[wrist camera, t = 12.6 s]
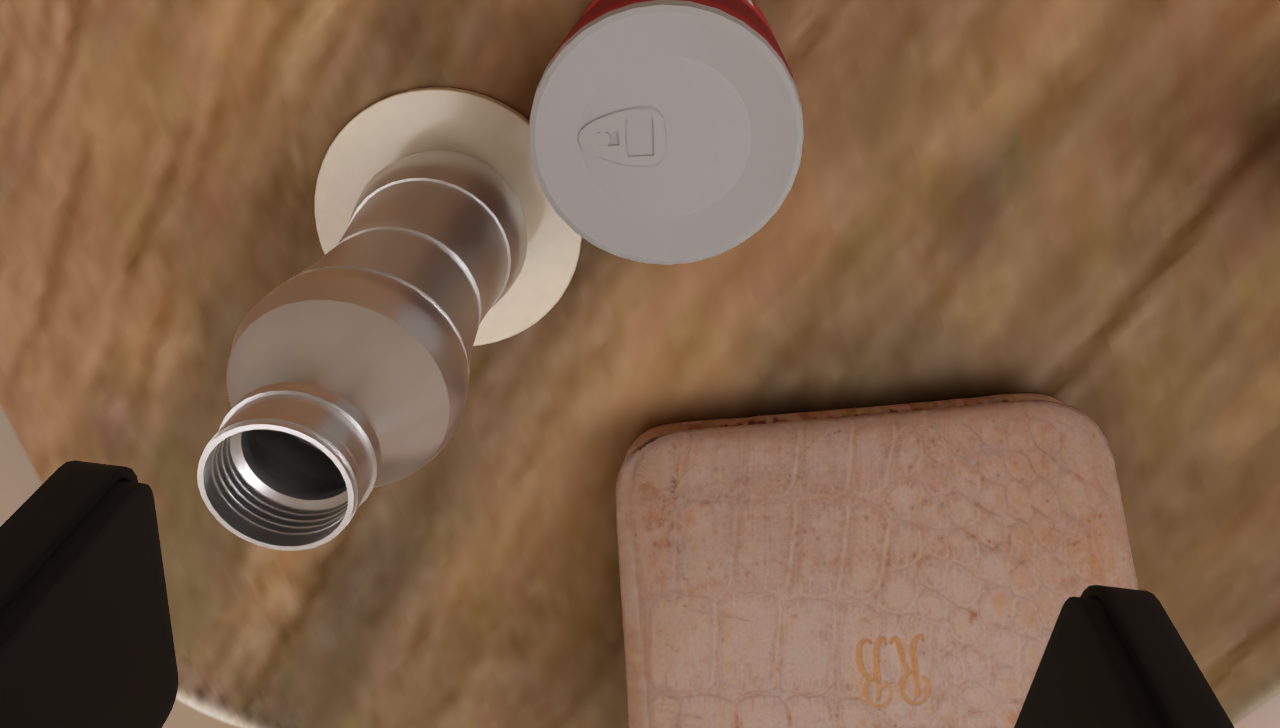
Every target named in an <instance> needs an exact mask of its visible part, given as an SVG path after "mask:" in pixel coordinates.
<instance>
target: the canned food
mask: <svg viewBox="0 0 1280 728" xmlns="http://www.w3.org/2000/svg"><path fill="white" fill-rule="evenodd" d="M803 137H804V128H803V113H802V106H801V102H800V99H799V95H798V92H797V88H796V85H795V82H794V79H793V75H792V73H791V71H790V69H789V67H788V65H787V62H786V60H785V58H784V56H783V54H782V52H781V50H780V47H779V45H778V43H777V41H776V39H775V37H774V35H773V32H772V30H771V29H770V27H769V25H768V23H767V21H766V19H765V17H764V15H763V13H762V12H761V11H760V9H759V8H758V7H757V6H756V5H755V3H754V2H753V1H752V0H594V1H593V2H592V3H591V4H590V6H589V7H588V9H587V10H586V11H585V13H584V14H583V15H582V17H581V18H580V19H579V21H578V22H577V24H576V25H575V26H574V28H573V29H572V30H571V32H570V33H569V35H568V36H567V37H566V39H565V40H564V41H563V43H562V44H561V46H560V47H559V48H558V50H557V51H556V53H555V54H554V55H553V57H552V58H551V60H550V62H549V64H548V65H547V67H546V69H545V71H544V73H543V76H542V78H541V80H540V82H539V84H538V87H537V89H536V92H535V96H534V101H533V105H532V109H531V114H530V128H529V147H530V152H531V158H532V163H533V168H534V172H535V174H536V176H537V179H538V181H539V184H540V186H541V189H542V191H543V193H544V195H545V196H546V198H547V199H548V201H549V203H550V204H551V206H552V207H553V209H554V210H555V212H556V213H557V214H558V215H559V216H560V217H561V218H562V220H563V221H564V222H565V223H566V224H567V225H568V226H569V227H570V228H571V229H572V230H573V231H574V232H575V233H577V234H578V235H580V236H581V237H583V238H584V239H586V240H587V241H588V242H590V243H591V244H593V245H594V246H596V247H598V248H600V249H602V250H605V251H607V252H609V253H611V254H613V255H616V256H618V257H621V258H625V259H629V260H633V261H637V262H641V263H650V264H664V265H671V264H681V263H690V262H696V261H699V260H703V259H706V258H710V257H713V256H717V255H719V254H721V253H723V252H725V251H727V250H729V249H731V248H733V247H735V246H737V245H739V244H741V243H743V242H744V241H745V240H747V239H748V238H749V237H751V236H752V235H753V234H755V233H756V232H757V231H759V230H760V229H761V228H762V227H763V226H764V225H765V224H766V223H767V222H768V220H769V219H770V218H771V217H772V216H773V215H774V214H775V213H776V212H777V211H778V209H779V208H780V206H781V204H782V203H783V201H784V199H785V198H786V196H787V194H788V193H789V191H790V189H791V188H792V185H793V182H794V179H795V177H796V174H797V171H798V168H799V165H800V160H801V153H802V146H803Z"/></svg>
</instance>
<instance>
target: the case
mask: <svg viewBox="0 0 1280 728" xmlns="http://www.w3.org/2000/svg"><path fill="white" fill-rule="evenodd" d="M615 496H616V521H617V540H618V554H619V568H620V587H621V601H622V616H623V633H624V647H625V662H626V684H627V703H628V718H629V728H1014V727H1015V724H1016V722H1017V719H1018V716H1019V714H1020V711H1021V709H1022V706H1023V704H1024V701H1025V699H1026V696H1027V694H1028V691H1029V689H1030V686H1031V684H1032V681H1033V679H1034V676H1035V674H1036V671H1037V669H1038V666H1039V664H1040V661H1041V659H1042V656H1043V654H1044V651H1045V649H1046V646H1047V644H1048V641H1049V639H1050V636H1051V634H1052V631H1053V629H1054V626H1055V624H1056V621H1057V619H1058V616H1059V614H1060V611H1061V609H1062V606H1063V605H1064V603H1065V601H1066V600H1067V599H1068V598H1069V597H1080V596H1081V594H1082V593H1083V591H1084V590H1085V589H1086V588H1087V587H1088V586H1091V585H1102V586H1110V587H1118V588H1127V589H1135V590H1138V583H1137V578H1136V573H1135V568H1134V564H1133V559H1132V553H1131V547H1130V542H1129V538H1128V531H1127V525H1126V520H1125V515H1124V510H1123V504H1122V499H1121V492H1120V487H1119V483H1118V479H1117V474H1116V468H1115V463H1114V459H1113V455H1112V452H1111V449H1110V446H1109V444H1108V442H1107V440H1106V438H1105V436H1104V434H1103V433H1102V431H1101V430H1100V428H1099V427H1098V426H1097V425H1096V423H1095V422H1094V421H1093V420H1092V419H1090V418H1089V417H1088V416H1087V415H1085V414H1084V413H1083V412H1081V411H1079V410H1077V409H1075V408H1073V407H1071V406H1068V405H1065V404H1063V403H1062V402H1060V401H1059V400H1057V399H1055V398H1053V397H1051V396H1047V395H1043V394H1038V393H1017V394H1000V395H992V396H983V397H974V398H963V399H950V400H942V401H931V402H918V403H906V404H896V405H885V406H873V407H864V408H849V409H837V410H828V411H815V412H802V413H788V414H779V415H761V416H753V417H746V418H730V419H715V420H701V421H690V422H681V423H672V424H665V425H661V426H657V427H654V428H651V429H649V430H647V431H646V432H644V433H643V434H641V435H640V436H639V437H638V438H637V439H636V440H635V441H634V442H633V443H632V444H631V446H630V447H629V449H628V451H627V453H626V456H625V459H624V463H623V465H622V467H621V469H620V472H619V474H618V478H617V483H616V492H615Z"/></svg>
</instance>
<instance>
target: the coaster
mask: <svg viewBox="0 0 1280 728" xmlns="http://www.w3.org/2000/svg"><path fill="white" fill-rule="evenodd" d="M529 128H530V121H529V120H528V119H527V118H525V117H524V116H523V115H522V114H520V113H519V112H517V111H515V110H514V109H512V108H510V107H509V106H507V105H505V104H504V103H501V102H499V101H497V100H495V99H492V98H490V97H488V96H485V95H482V94H478V93H475V92H472V91H468V90H462V89H456V88H447V87H428V88H418V89H412V90H408V91H403V92H399V93H396V94H393V95H391V96H389V97H386V98H384V99H381V100H379V101H378V102H376V103H374V104H372V105H371V106H369V107H367V108H366V109H364V110H363V111H362V112H361V113H359V114H358V115H357V116H356V117H354V118H353V119H352V120H351V121H350V122H349V123H348V124H347V125H346V126H345V127H344V128H343V129H342V130H341V131H340V132H339V134H338V135H337V136H336V138H335V139H334V141H333V142H332V144H331V145H330V147H329V149H328V151H327V153H326V155H325V157H324V159H323V161H322V164H321V167H320V171H319V174H318V177H317V182H316V189H315V201H314V213H315V221H316V229H317V233H318V236H319V240H320V244H321V247H322V250H323V252H324V255H326V254H327V253H328V252H329V251H330V250H332V249H333V248H334V247H335V246H336V245H337V244H338V243H339V242H340V240H341V238H342V237H343V235H344V233H345V231H346V230H347V228H348V226H349V222H350V218H351V214H352V212H353V209H354V207H355V205H356V203H357V201H358V199H359V197H360V195H361V193H362V191H363V189H364V187H365V186H366V185H367V183H368V182H369V181H370V180H371V179H372V178H373V176H374V175H375V174H377V173H378V172H379V171H381V170H382V169H383V168H385V167H386V166H387V165H389V164H391V163H394V162H396V161H398V160H400V159H402V158H405V157H407V156H410V155H413V154H416V153H421V152H425V151H434V150H447V151H453V152H460V153H463V154H466V155H469V156H472V157H475V158H477V159H479V160H480V161H482V162H484V163H486V164H488V165H489V166H491V167H492V168H493V169H495V170H496V171H497V172H498V173H499V174H501V175H502V176H503V177H504V178H505V180H506V181H507V182H508V183H509V184H510V186H511V187H512V188H513V189H514V191H515V193H516V195H517V197H518V198H519V200H520V202H521V205H522V208H523V211H524V214H525V221H526V230H527V251H526V258H525V261H524V264H523V267H522V270H521V273H520V274H519V276H518V277H517V279H516V281H515V282H514V284H513V285H512V287H511V288H510V289H509V290H508V291H507V293H506V294H505V295H504V296H503V297H502V298H501V299H500V300H499V301H498V302H497V303H496V304H495V305H494V306H493V307H492V308H491V309H490V310H489V311H488V312H487V314H486V315H485V317H484V318H483V320H482V321H481V323H480V325H479V328H478V331H477V335H476V338H475V341H474V344H473V346H478V345H484V344H489V343H494V342H498V341H501V340H504V339H507V338H510V337H512V336H514V335H516V334H518V333H520V332H522V331H524V330H526V329H528V328H529V327H531V326H532V325H534V324H535V323H536V322H538V321H539V320H540V319H541V318H543V317H544V316H545V315H546V314H547V313H548V312H549V311H550V310H551V309H552V308H553V307H554V306H555V304H556V303H557V302H558V301H559V300H560V298H561V297H562V295H563V294H564V292H565V290H566V289H567V287H568V286H569V283H570V281H571V279H572V277H573V274H574V272H575V270H576V266H577V263H578V259H579V255H580V252H581V245H582V237H581V236H580V235H578V234H577V233H575V232H574V231H573V230H572V229H571V228H570V227H569V226H568V225H567V224H566V223H565V222H564V221H563V220H562V218H561V217H560V216H559V215H558V214H557V213H556V212H555V210H554V209H553V207H552V206H551V204H550V203H549V201H548V199H547V198H546V196H545V195H544V193H543V191H542V189H541V186H540V184H539V181H538V179H537V176H536V174H535V172H534V168H533V163H532V158H531V152H530V147H529Z"/></svg>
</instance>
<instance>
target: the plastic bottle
mask: <svg viewBox="0 0 1280 728" xmlns="http://www.w3.org/2000/svg"><path fill="white" fill-rule="evenodd" d="M526 251H527V230H526V221H525V214H524V211H523V208H522V205H521V202H520V200H519V198H518V197H517V195H516V193H515V191H514V189H513V188H512V187H511V186H510V184H509V183H508V182H507V181H506V180H505V178H504V177H503V176H502V175H501V174H499V173H498V172H497V171H496V170H495V169H493V168H492V167H491V166H489V165H488V164H486V163H484V162H482V161H480V160H479V159H477V158H475V157H472V156H469V155H466V154H463V153H460V152H453V151H447V150H434V151H425V152H421V153H416V154H413V155H410V156H407V157H405V158H402V159H400V160H398V161H396V162H394V163H391V164H389V165H387V166H386V167H385V168H383V169H382V170H381V171H379V172H378V173H377V174H375V175H374V176H373V178H372V179H371V180H370V181H369V182H368V183H367V185H366V186H365V187H364V189H363V191H362V193H361V195H360V197H359V199H358V201H357V203H356V205H355V207H354V209H353V212H352V214H351V218H350V222H349V226H348V228H347V230H346V231H345V233H344V235H343V237H342V238H341V240H340V242H339V243H338V244H337V245H336V246H335V247H334V248H333V249H332V250H330V251H329V252H328V253H327V254H326V255H325V256H324V257H322V258H321V259H320V260H319V261H318V262H317V263H315V264H313V265H312V266H310V267H308V268H307V269H305V270H303V271H302V272H300V273H299V274H297V275H295V276H294V277H292V278H290V279H289V280H287V281H285V282H284V283H282V284H281V285H279V286H278V287H277V288H275V289H274V290H273V291H271V292H270V293H269V294H267V295H266V296H265V297H264V298H263V299H262V300H260V301H259V302H258V303H257V304H255V305H254V307H253V308H252V309H251V310H250V311H249V313H248V314H247V315H246V316H245V317H244V319H243V320H242V322H241V324H240V326H239V328H238V330H237V332H236V334H235V336H234V339H233V344H232V348H231V353H230V358H229V362H228V367H227V372H226V379H227V394H228V397H229V401H230V405H231V411H230V412H229V413H228V414H227V415H226V416H225V418H224V420H223V422H222V424H221V426H220V428H219V431H218V432H217V434H216V435H215V436H214V437H213V438H212V439H211V440H210V442H209V443H208V444H207V446H206V448H205V450H204V452H203V454H202V456H201V458H200V461H199V466H198V471H197V477H198V486H199V490H200V493H201V497H202V498H203V500H204V502H205V504H206V506H207V508H208V509H209V511H210V512H211V513H212V514H213V516H214V517H215V518H216V519H217V520H218V521H219V522H220V523H221V524H222V525H223V526H224V527H225V528H227V529H228V530H229V531H231V532H232V533H234V534H235V535H237V536H238V537H240V538H242V539H244V540H246V541H248V542H251V543H253V544H255V545H259V546H262V547H265V548H269V549H275V550H282V551H299V550H305V549H311V548H314V547H317V546H320V545H322V544H325V543H327V542H328V541H330V540H331V539H333V538H335V537H336V536H337V535H338V534H339V533H340V532H341V531H342V530H343V529H344V528H345V527H346V526H347V525H348V524H349V522H350V520H351V519H352V517H353V515H354V514H355V512H356V510H357V508H358V507H359V506H360V505H361V504H362V503H363V502H364V501H365V500H366V499H367V497H368V496H369V494H370V492H371V491H372V489H373V488H375V487H381V486H386V485H389V484H392V483H395V482H397V481H400V480H402V479H405V478H407V477H408V476H410V475H411V474H413V473H415V472H416V471H418V470H419V469H421V468H422V467H423V466H425V465H426V464H427V463H428V462H429V461H431V460H432V459H433V458H434V457H435V456H436V455H437V454H438V453H439V452H440V451H441V450H442V449H443V448H444V447H446V446H447V445H448V443H449V442H450V440H451V438H452V437H453V435H454V434H455V432H456V430H457V429H458V426H459V423H460V421H461V418H462V415H463V412H464V408H465V403H466V399H467V396H468V385H469V374H470V364H471V354H472V348H473V344H474V341H475V338H476V335H477V331H478V328H479V325H480V323H481V321H482V320H483V318H484V317H485V315H486V314H487V312H488V311H489V310H490V309H491V308H492V307H493V306H494V305H495V304H496V303H497V302H498V301H499V300H500V299H501V298H502V297H503V296H504V295H505V294H506V293H507V291H508V290H509V289H510V288H511V287H512V285H513V284H514V282H515V281H516V279H517V277H518V276H519V274H520V273H521V270H522V267H523V264H524V261H525V258H526Z"/></svg>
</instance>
